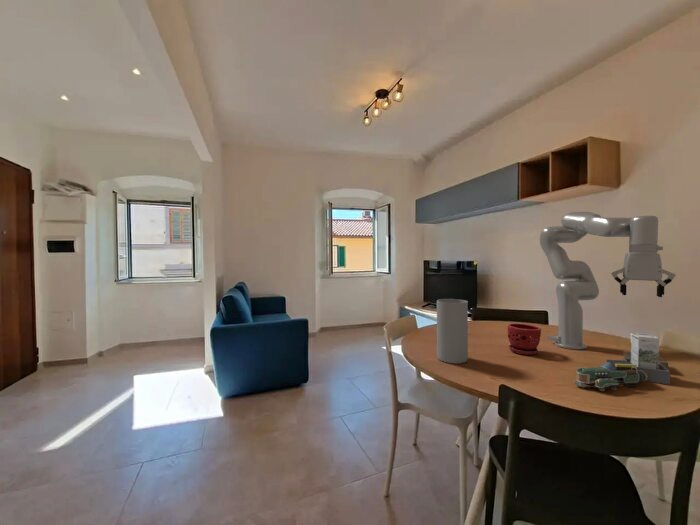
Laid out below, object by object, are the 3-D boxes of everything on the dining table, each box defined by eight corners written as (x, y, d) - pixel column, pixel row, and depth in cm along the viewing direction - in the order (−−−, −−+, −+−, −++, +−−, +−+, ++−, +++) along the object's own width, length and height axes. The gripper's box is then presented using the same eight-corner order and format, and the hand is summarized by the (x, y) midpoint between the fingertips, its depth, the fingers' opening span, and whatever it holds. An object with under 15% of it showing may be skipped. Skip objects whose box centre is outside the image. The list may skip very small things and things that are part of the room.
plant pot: (535, 358, 129) (535, 330, 128) (502, 351, 139) (502, 325, 138) (544, 352, 137) (545, 326, 137) (514, 346, 147) (514, 321, 147)
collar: (630, 368, 117) (630, 358, 117) (623, 360, 125) (623, 350, 125) (668, 373, 111) (668, 362, 111) (658, 364, 120) (658, 354, 120)
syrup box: (649, 372, 111) (649, 333, 111) (658, 378, 105) (659, 337, 105) (629, 370, 113) (629, 332, 113) (638, 376, 107) (638, 336, 107)
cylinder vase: (431, 359, 129) (431, 301, 128) (444, 352, 138) (444, 298, 138) (460, 366, 120) (460, 304, 120) (472, 358, 130) (472, 300, 129)
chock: (616, 381, 105) (616, 364, 105) (606, 376, 110) (606, 359, 110) (636, 382, 104) (636, 365, 104) (625, 376, 109) (625, 360, 109)
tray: (629, 378, 107) (629, 366, 107) (622, 369, 116) (622, 357, 116) (669, 384, 102) (670, 371, 102) (659, 374, 111) (659, 362, 110)
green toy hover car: (565, 381, 105) (565, 358, 105) (632, 379, 107) (632, 356, 107) (589, 394, 96) (589, 368, 96) (662, 391, 97) (662, 365, 97)
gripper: (672, 249, 110) (670, 296, 111) (610, 249, 119) (609, 292, 120) (680, 249, 104) (678, 299, 104) (614, 249, 113) (612, 295, 114)
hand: (641, 295), depth 112 cm, fingers open, 9 cm apart
